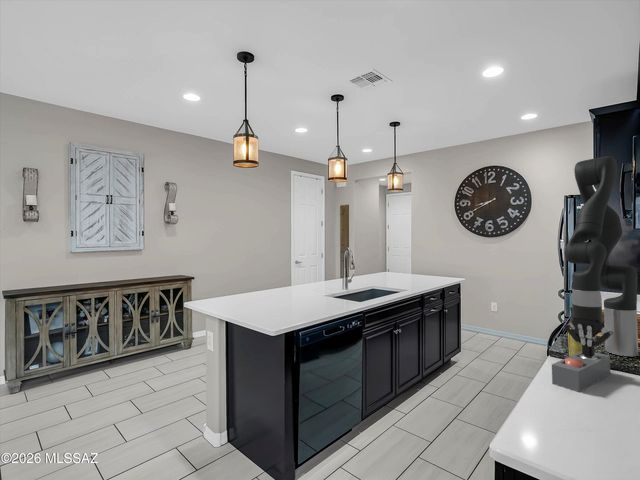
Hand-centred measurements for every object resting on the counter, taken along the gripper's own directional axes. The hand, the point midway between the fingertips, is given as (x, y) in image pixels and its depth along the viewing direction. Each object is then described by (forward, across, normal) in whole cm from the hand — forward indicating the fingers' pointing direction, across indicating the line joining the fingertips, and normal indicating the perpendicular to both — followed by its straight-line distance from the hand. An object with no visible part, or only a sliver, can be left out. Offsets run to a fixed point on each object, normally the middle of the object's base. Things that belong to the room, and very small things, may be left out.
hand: (588, 356), depth 108 cm
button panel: (+6, 0, +5) cm, 8 cm away
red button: (+4, 0, +10) cm, 11 cm away
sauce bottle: (+6, +6, -10) cm, 14 cm away
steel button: (+5, 0, 0) cm, 5 cm away
